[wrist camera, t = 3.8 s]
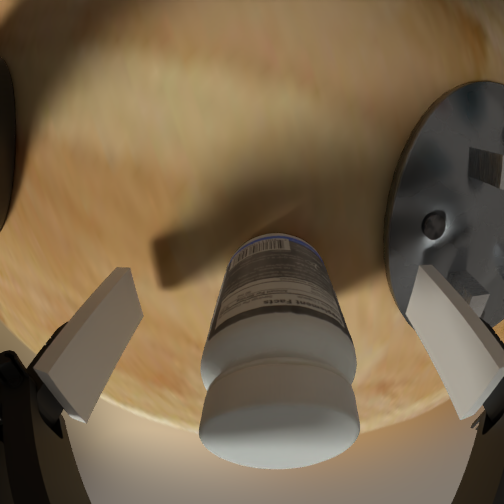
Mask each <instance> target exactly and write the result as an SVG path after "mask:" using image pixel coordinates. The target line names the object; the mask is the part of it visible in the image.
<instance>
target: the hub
mask: <svg viewBox="0 0 504 504" xmlns="http://www.w3.org/2000/svg"><path fill="white" fill-rule="evenodd" d="M383 240H384V262H385V270H386V277H387V280H388V284H389V288H390V291H391V294H392V296H393V298H394V301H395V303H396V305H397V307H398V308H399V310H400V312H401V313H402V315H403V316H404V318H405V319H406V321H407V322H408V324H409V325H410V326H411V327H412V328H413V326H412V324H411V322H410V321H409V319H408V317H407V316H406V311H407V307H408V304H409V301H410V297H411V294H412V291H413V287H414V283H415V280H416V276H417V272H418V268H419V265H433V266H434V267H435V268H436V270H437V271H438V272H439V273H440V274H441V275H442V276H443V277H444V278H445V279H446V280H447V281H448V282H449V283H450V284H451V286H452V287H453V288H454V289H455V290H456V291H457V292H458V293H459V294H460V296H461V297H462V298H463V299H464V300H465V301H466V302H467V304H468V305H469V306H470V307H471V308H472V310H473V311H474V312H475V313H476V314H477V316H478V317H480V318H481V319H483V320H484V321H485V322H487V323H488V324H489V325H490V326H491V327H494V326H495V325H497V324H498V323H499V322H501V321H502V320H503V319H504V85H502V84H498V83H494V82H473V83H467V84H463V85H460V86H457V87H455V88H453V89H451V90H449V91H448V92H446V93H444V94H443V95H442V96H441V97H440V98H438V99H437V100H436V101H435V102H434V103H433V104H432V105H431V106H430V107H429V108H428V110H427V111H426V112H425V113H424V114H423V115H422V117H421V118H420V120H419V122H418V123H417V125H416V126H415V128H414V129H413V131H412V133H411V135H410V137H409V139H408V141H407V143H406V145H405V147H404V149H403V151H402V154H401V157H400V160H399V162H398V165H397V168H396V171H395V173H394V177H393V181H392V185H391V189H390V193H389V197H388V203H387V209H386V215H385V226H384V238H383ZM413 329H414V328H413ZM414 330H415V329H414Z"/></svg>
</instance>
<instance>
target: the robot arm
mask: <svg viewBox="0 0 504 504" xmlns="http://www.w3.org/2000/svg"><path fill="white" fill-rule="evenodd" d="M14 157H15V106H14V94H13V87H12V81H11V77H10V73H9V70H8V68H7V65H6V63H5V61H4V60H3V59H2V58H1V57H0V229H1V228H2V225H3V223H4V220H5V217H6V214H7V210H8V206H9V201H10V195H11V189H12V181H13V171H14ZM143 316H144V315H143V312H142V309H141V306H140V302H139V299H138V295H137V292H136V288H135V285H134V281H133V277H132V273H131V269H130V268H121V267H117V268H116V269H115V270H114V271H113V272H112V273H111V274H110V275H109V276H108V277H107V278H106V279H105V280H104V281H103V283H102V284H101V285H100V286H99V287H98V288H97V289H96V290H95V291H94V293H93V294H92V295H91V296H90V297H89V298H88V299H87V300H86V302H85V303H84V304H83V305H82V306H81V307H80V309H79V310H78V311H77V312H76V313H75V315H74V316H73V317H72V318H71V319H70V321H69V322H66V323H65V324H63V325H62V326H60V327H59V328H58V329H57V330H56V331H55V332H54V334H53V335H52V336H51V339H49V340H48V341H47V342H46V345H44V346H43V348H42V349H41V350H40V352H39V353H38V354H37V355H36V357H35V358H34V359H33V361H32V362H31V363H30V365H29V366H28V368H27V369H26V368H25V367H24V365H23V364H22V362H21V361H20V359H19V357H18V356H17V354H16V353H15V352H14V351H10V350H9V351H4V352H2V353H0V504H91V502H90V500H89V497H88V495H87V492H86V490H85V487H84V485H83V482H82V479H81V477H80V473H79V471H78V468H77V465H76V461H75V459H74V455H73V452H72V448H71V445H70V441H69V437H68V434H67V430H66V425H65V420H64V418H63V416H62V415H61V413H62V411H63V409H64V410H65V411H66V412H67V413H68V414H69V416H70V417H71V418H73V419H76V420H78V421H81V422H84V423H87V421H88V419H89V417H90V415H91V413H92V411H93V409H94V407H95V405H96V403H97V401H98V399H99V397H100V395H101V393H102V391H103V389H104V387H105V385H106V383H107V381H108V379H109V377H110V376H111V374H112V372H113V370H114V368H115V366H116V364H117V362H118V361H119V359H120V357H121V355H122V353H123V351H124V350H125V348H126V346H127V344H128V342H129V341H130V339H131V337H132V335H133V334H134V332H135V330H136V328H137V327H138V325H139V323H140V321H141V320H142V318H143ZM406 316H407V317H408V319H409V321H410V322H411V324H412V326H413V328H414V329H415V331H416V333H417V334H418V336H419V338H420V340H421V342H422V343H423V345H424V347H425V349H426V351H427V352H428V354H429V356H430V358H431V360H432V362H433V364H434V366H435V368H436V370H437V372H438V373H439V375H440V377H441V380H442V382H443V384H444V386H445V388H446V390H447V392H448V394H449V396H450V398H451V401H452V403H453V405H454V407H455V409H456V412H457V414H458V416H459V419H460V420H462V419H465V418H467V417H469V416H472V415H474V414H475V413H476V412H477V411H478V409H479V408H480V407H481V406H482V405H483V406H484V408H485V410H484V412H483V413H482V414H481V415H480V416H479V417H478V418H477V419H476V420H475V421H474V423H473V424H472V426H471V428H473V427H474V426H475V425H476V424H477V423H478V422H479V426H478V427H477V428H476V430H477V434H476V438H475V442H474V446H473V448H472V452H471V455H470V458H469V461H468V464H467V467H466V470H465V473H464V475H463V478H462V480H461V483H460V485H459V488H458V490H457V492H456V495H455V497H454V499H453V502H452V503H451V504H504V343H503V342H502V341H500V338H499V337H498V335H497V334H495V331H494V330H493V329H492V327H491V326H490V325H489V324H488V323H487V322H485V321H484V320H483V319H481V318H480V317H478V316H477V314H476V313H475V312H474V311H473V310H472V308H471V307H470V306H469V305H468V304H467V302H466V301H465V300H464V299H463V298H462V297H461V296H460V294H459V293H458V292H457V291H456V290H455V289H454V288H453V287H452V286H451V284H450V283H449V282H448V281H447V280H446V279H445V278H444V277H443V276H442V275H441V274H440V273H439V272H438V271H437V270H436V268H435V267H434V266H433V265H419V268H418V272H417V276H416V280H415V283H414V287H413V291H412V294H411V297H410V301H409V304H408V307H407V311H406Z"/></svg>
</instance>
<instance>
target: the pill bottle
mask: <svg viewBox="0 0 504 504" xmlns="http://www.w3.org/2000/svg"><path fill="white" fill-rule="evenodd" d="M356 366H357V362H356V354H355V348H354V345H353V341H352V338H351V336H350V333H349V331H348V329H347V326H346V323H345V320H344V317H343V314H342V312H341V309H340V306H339V303H338V300H337V296H336V293H335V291H334V289H333V286H332V283H331V281H330V279H329V276H328V273H327V270H326V268H325V265H324V263H323V261H322V259H321V257H320V255H319V254H318V252H317V251H316V250H315V249H314V248H313V247H312V246H311V245H310V244H309V243H307V242H305V241H304V240H302V239H300V238H297V237H295V236H292V235H288V234H282V233H270V234H265V235H261V236H258V237H255V238H253V239H251V240H249V241H247V242H246V243H244V244H243V245H242V246H241V247H240V248H239V249H238V250H237V251H236V252H235V253H234V255H233V256H232V258H231V260H230V262H229V264H228V266H227V269H226V273H225V275H224V280H223V283H222V286H221V289H220V293H219V296H218V299H217V303H216V307H215V310H214V314H213V318H212V321H211V325H210V330H209V334H208V337H207V340H206V344H205V347H204V351H203V355H202V359H201V376H202V380H203V383H204V386H205V388H206V390H207V395H206V397H205V402H204V406H203V411H202V417H201V422H200V427H199V437H200V439H201V441H202V443H203V444H204V446H205V447H206V448H207V449H208V450H209V451H210V452H212V453H213V454H215V455H217V456H218V457H220V458H223V459H225V460H227V461H230V462H233V463H236V464H239V465H244V466H248V467H254V468H260V469H290V468H298V467H305V466H309V465H313V464H316V463H320V462H322V461H325V460H328V459H330V458H333V457H335V456H337V455H339V454H341V453H342V452H344V451H345V450H346V449H348V448H349V447H350V446H351V445H352V444H353V443H354V442H355V441H356V439H357V437H358V435H359V432H360V422H359V416H358V411H357V406H356V400H355V395H354V392H353V389H352V386H351V384H352V382H353V380H354V377H355V373H356Z"/></svg>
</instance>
